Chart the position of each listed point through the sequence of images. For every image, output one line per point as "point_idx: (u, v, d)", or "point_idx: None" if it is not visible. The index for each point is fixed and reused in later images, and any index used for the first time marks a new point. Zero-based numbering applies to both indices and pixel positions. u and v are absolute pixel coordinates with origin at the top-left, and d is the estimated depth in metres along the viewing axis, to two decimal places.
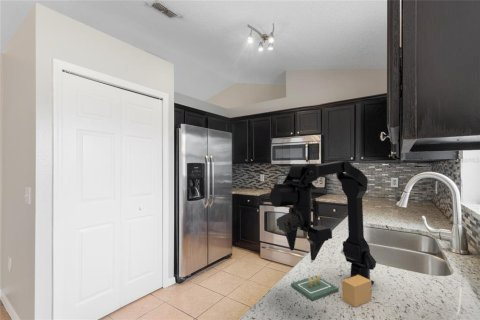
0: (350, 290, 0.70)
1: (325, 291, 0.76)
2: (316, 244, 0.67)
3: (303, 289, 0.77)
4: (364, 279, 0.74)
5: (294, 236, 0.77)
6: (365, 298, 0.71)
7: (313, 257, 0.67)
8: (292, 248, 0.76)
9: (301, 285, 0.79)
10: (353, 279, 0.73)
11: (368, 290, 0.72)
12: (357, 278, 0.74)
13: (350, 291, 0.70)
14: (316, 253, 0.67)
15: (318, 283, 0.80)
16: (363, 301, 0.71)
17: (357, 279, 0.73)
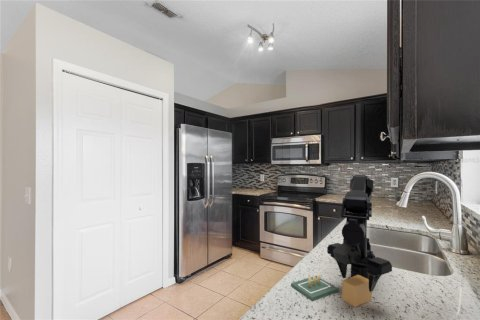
0: (350, 290, 0.70)
1: (325, 291, 0.76)
2: (375, 276, 0.68)
3: (303, 289, 0.77)
4: (364, 279, 0.74)
5: None
6: (365, 298, 0.71)
7: (371, 288, 0.68)
8: (344, 276, 0.77)
9: (301, 285, 0.79)
10: (353, 279, 0.73)
11: (368, 290, 0.72)
12: (357, 278, 0.74)
13: (350, 291, 0.70)
14: (374, 284, 0.69)
15: (318, 283, 0.80)
16: (363, 301, 0.71)
17: (357, 279, 0.73)
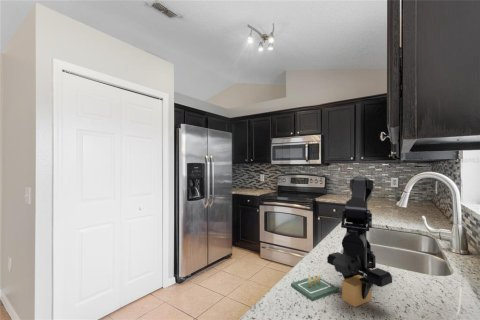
0: (350, 290, 0.70)
1: (325, 291, 0.76)
2: (367, 283, 0.70)
3: (303, 289, 0.77)
4: None
5: None
6: (365, 298, 0.71)
7: (364, 296, 0.70)
8: None
9: (301, 285, 0.79)
10: (353, 279, 0.73)
11: None
12: (357, 278, 0.74)
13: (350, 291, 0.70)
14: (367, 292, 0.70)
15: (318, 283, 0.80)
16: (363, 301, 0.71)
17: (357, 279, 0.73)
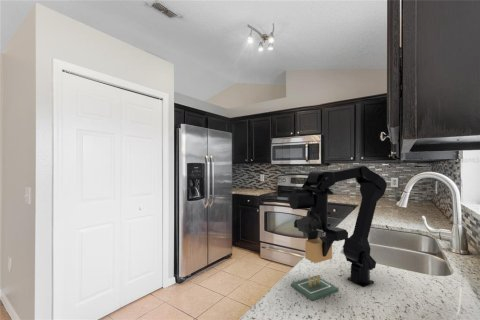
0: (312, 248, 0.76)
1: (325, 291, 0.76)
2: (327, 242, 0.76)
3: (303, 289, 0.77)
4: None
5: (315, 238, 0.81)
6: (326, 256, 0.77)
7: (324, 253, 0.76)
8: None
9: (301, 285, 0.79)
10: (315, 240, 0.79)
11: (329, 249, 0.78)
12: (319, 239, 0.80)
13: (311, 249, 0.76)
14: (327, 250, 0.76)
15: (318, 283, 0.80)
16: (323, 259, 0.77)
17: (319, 240, 0.79)
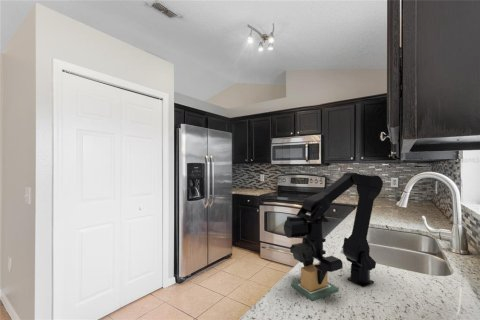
0: (307, 276, 0.77)
1: (325, 291, 0.76)
2: (322, 270, 0.76)
3: (303, 289, 0.77)
4: None
5: None
6: (321, 284, 0.78)
7: (320, 281, 0.77)
8: None
9: None
10: (310, 267, 0.80)
11: None
12: None
13: (307, 277, 0.77)
14: (322, 278, 0.77)
15: None
16: (319, 286, 0.77)
17: (315, 267, 0.80)
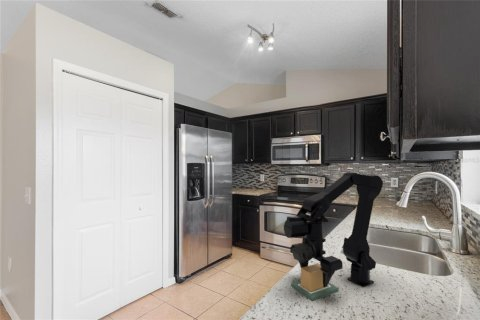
0: (307, 276, 0.77)
1: (325, 291, 0.76)
2: (328, 273, 0.74)
3: (303, 289, 0.77)
4: (321, 267, 0.80)
5: (306, 262, 0.84)
6: (321, 284, 0.78)
7: (325, 284, 0.75)
8: None
9: None
10: (311, 267, 0.80)
11: None
12: (315, 266, 0.81)
13: (307, 277, 0.77)
14: (328, 281, 0.75)
15: None
16: (319, 287, 0.77)
17: (315, 267, 0.80)
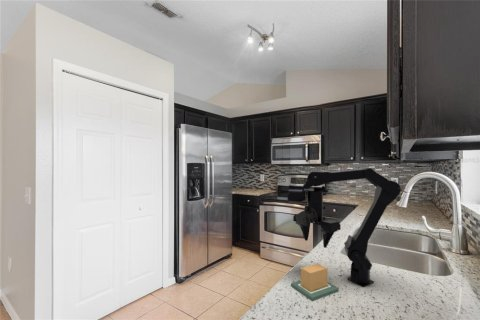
0: (307, 276, 0.77)
1: (325, 291, 0.76)
2: (328, 234, 0.84)
3: (303, 289, 0.77)
4: (321, 267, 0.80)
5: (308, 229, 0.94)
6: (321, 284, 0.78)
7: (325, 245, 0.85)
8: (306, 239, 0.93)
9: None
10: (311, 267, 0.80)
11: (324, 277, 0.79)
12: (315, 266, 0.81)
13: (307, 277, 0.77)
14: (327, 241, 0.85)
15: None
16: (319, 287, 0.77)
17: (315, 267, 0.80)
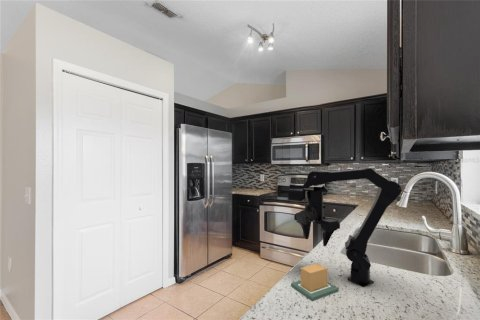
0: (307, 276, 0.77)
1: (325, 291, 0.76)
2: (327, 233, 0.86)
3: (303, 289, 0.77)
4: (321, 267, 0.80)
5: (308, 228, 0.96)
6: (321, 284, 0.78)
7: (325, 243, 0.86)
8: (307, 237, 0.95)
9: None
10: (311, 267, 0.80)
11: (324, 277, 0.79)
12: (315, 266, 0.81)
13: (307, 277, 0.77)
14: (327, 240, 0.86)
15: None
16: (319, 287, 0.77)
17: (315, 267, 0.80)
